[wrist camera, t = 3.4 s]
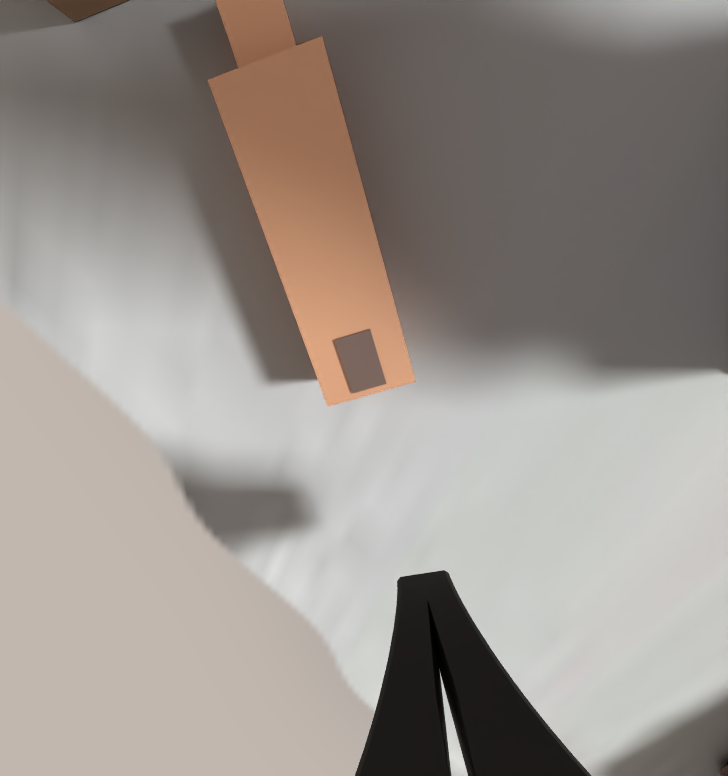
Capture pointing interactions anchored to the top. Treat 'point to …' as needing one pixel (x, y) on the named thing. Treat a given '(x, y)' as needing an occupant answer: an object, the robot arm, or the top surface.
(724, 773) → the food item
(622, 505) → the top surface
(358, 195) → the orange block
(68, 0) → the notched brown block
